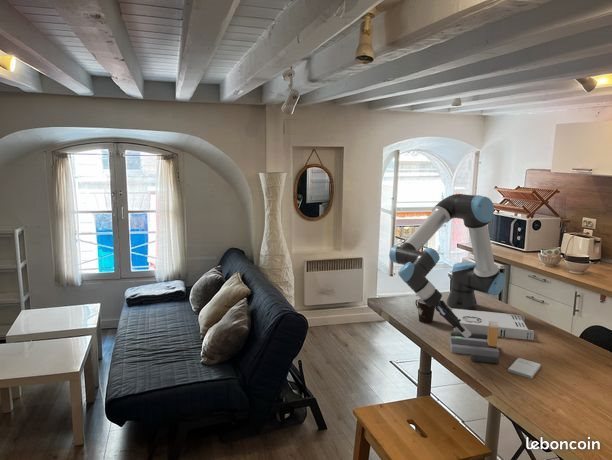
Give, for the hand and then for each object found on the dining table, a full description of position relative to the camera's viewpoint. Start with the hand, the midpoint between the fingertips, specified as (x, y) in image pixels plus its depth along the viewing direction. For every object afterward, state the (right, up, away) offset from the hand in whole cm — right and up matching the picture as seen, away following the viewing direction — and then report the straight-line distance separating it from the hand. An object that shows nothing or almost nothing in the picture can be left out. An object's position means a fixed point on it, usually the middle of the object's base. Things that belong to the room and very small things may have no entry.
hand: (468, 335), depth 182 cm
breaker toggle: (+9, -3, -2) cm, 9 cm away
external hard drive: (+15, -9, -16) cm, 24 cm away
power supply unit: (+18, -3, +23) cm, 30 cm away
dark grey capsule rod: (+2, -8, -11) cm, 13 cm away
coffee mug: (-10, 0, +32) cm, 33 cm away
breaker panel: (+2, -6, 0) cm, 6 cm away
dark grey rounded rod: (+5, -4, +11) cm, 12 cm away
